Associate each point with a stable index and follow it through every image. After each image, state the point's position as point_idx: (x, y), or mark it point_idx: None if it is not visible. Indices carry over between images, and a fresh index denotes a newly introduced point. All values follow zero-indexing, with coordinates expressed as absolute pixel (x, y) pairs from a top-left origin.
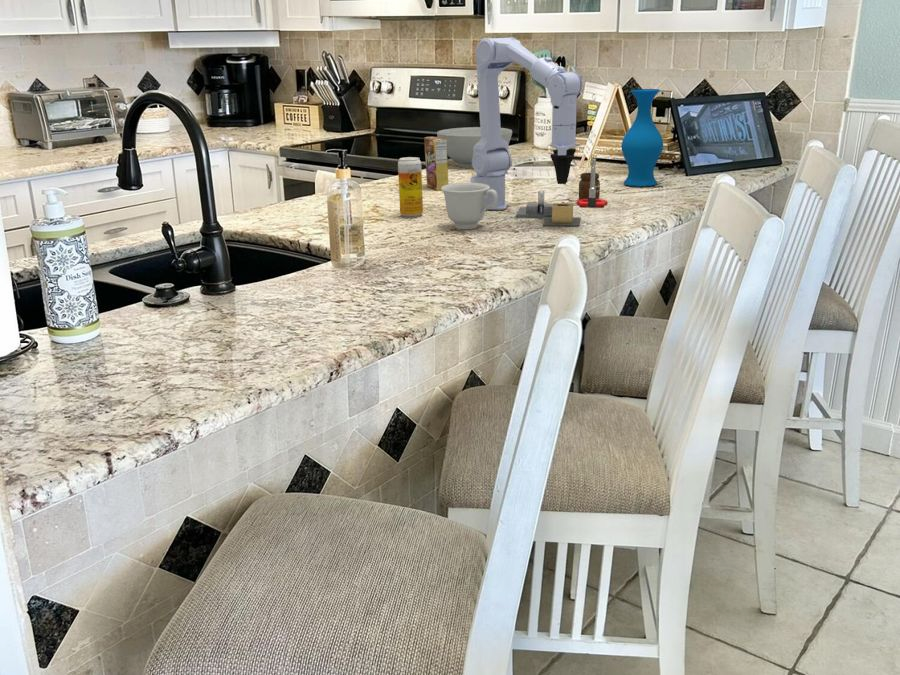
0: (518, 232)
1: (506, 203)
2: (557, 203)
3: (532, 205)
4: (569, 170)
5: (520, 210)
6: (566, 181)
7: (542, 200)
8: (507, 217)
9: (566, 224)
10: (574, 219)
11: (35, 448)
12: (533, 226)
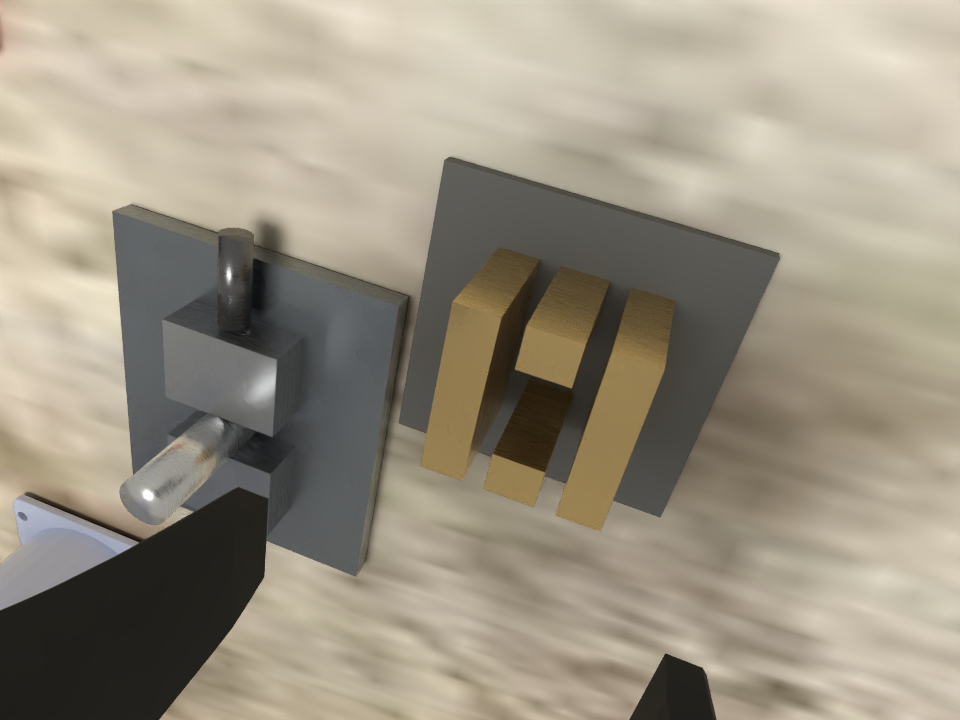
0: (807, 690)
1: (36, 512)
2: (443, 440)
3: None
4: (186, 559)
5: None
6: (711, 701)
7: (212, 456)
8: (350, 596)
9: (711, 359)
10: (524, 239)
11: None
12: (645, 559)
